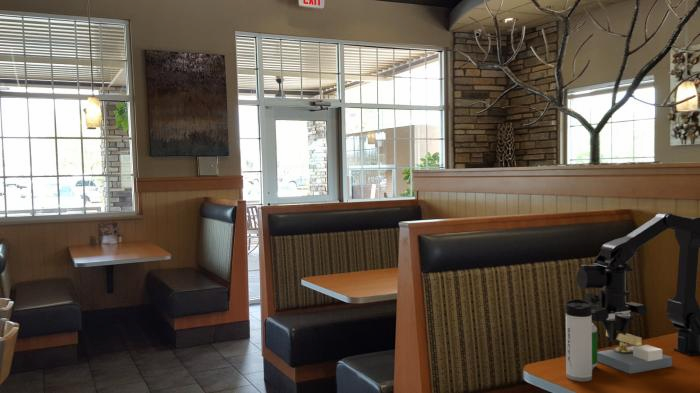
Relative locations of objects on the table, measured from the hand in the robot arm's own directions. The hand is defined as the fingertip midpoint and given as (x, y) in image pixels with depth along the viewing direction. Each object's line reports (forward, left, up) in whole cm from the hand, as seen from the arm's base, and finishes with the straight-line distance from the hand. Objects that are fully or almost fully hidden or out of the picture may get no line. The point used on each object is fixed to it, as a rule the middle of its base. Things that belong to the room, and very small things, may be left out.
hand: (615, 341), depth 168 cm
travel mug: (+22, +9, -5) cm, 24 cm away
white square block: (-1, +10, -2) cm, 10 cm away
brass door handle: (0, +3, -2) cm, 4 cm away
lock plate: (0, +6, -5) cm, 8 cm away
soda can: (+15, +3, -5) cm, 16 cm away
